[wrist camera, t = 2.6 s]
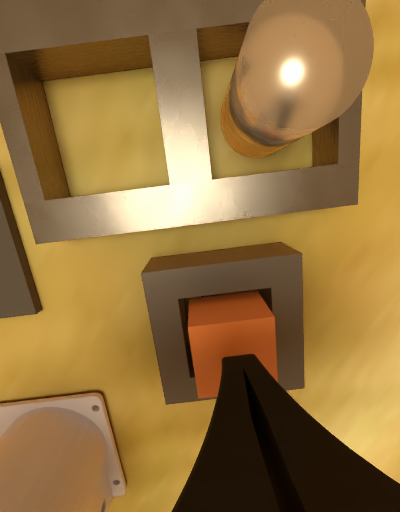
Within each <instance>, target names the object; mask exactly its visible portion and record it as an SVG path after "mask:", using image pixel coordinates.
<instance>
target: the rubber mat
mask: <svg viewBox="0 0 400 512" xmlns="http://www.w3.org/2000/svg"><path fill="white" fill-rule="evenodd" d="M41 310H42V307H41V304H40V301H39V297H38V294H37V291H36V288H35V284H34V281H33V278H32V275H31V271H30V268H29V265H28V262H27V258H26V255H25V252H24V248H23V245H22V242H21V239H20V235H19V232H18V229H17V226H16V222H15V219H14V216H13V213H12V209H11V206H10V203H9V200H8V196H7V193H6V190H5V187H4V183H3V180H2V177H1V173H0V318H8V317H16V316H24V315H33V314H37V313H38V312H40V311H41Z"/></svg>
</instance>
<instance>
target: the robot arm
mask: <svg viewBox="0 0 400 512" xmlns="http://www.w3.org/2000/svg"><path fill="white" fill-rule="evenodd" d="M221 361H222V372H221V380H220V386H219V391H218V396H217V400H216V404H215V408H214V411H213V415H212V418H211V422H210V425H209V428H208V431H207V434H206V436H205V439H204V442H203V445H202V447H201V450H200V452H199V455H198V457H197V459H196V462H195V464H194V467H193V469H192V471H191V473H190V476H189V478H188V480H187V482H186V484H185V486H184V488H183V490H182V492H181V494H180V496H179V498H178V500H177V502H176V504H175V506H174V508H173V510H172V512H400V484H399V483H398V482H396V481H395V480H393V479H392V478H390V477H389V476H387V475H386V474H384V473H383V472H382V471H380V470H379V469H377V468H376V467H375V466H373V465H372V464H370V463H369V462H368V461H366V460H365V459H364V458H362V457H361V456H359V455H358V454H357V453H355V452H354V451H353V450H351V449H350V448H349V447H347V446H346V445H345V444H344V443H342V442H341V441H340V440H339V439H337V438H336V437H335V436H334V435H332V434H331V433H330V432H329V431H328V430H327V429H325V428H324V427H323V426H322V425H321V424H320V423H318V422H317V421H316V420H315V419H314V418H313V417H312V416H311V415H310V414H308V413H307V412H306V411H305V410H304V409H303V408H302V407H301V406H300V405H299V404H298V403H297V402H296V401H295V400H294V399H293V398H292V397H291V396H290V395H289V394H288V393H287V392H286V391H285V390H284V389H283V387H282V386H281V385H280V384H279V383H278V382H277V381H276V380H275V379H274V378H273V376H272V375H271V374H270V373H269V372H268V370H267V369H266V368H265V367H264V366H263V364H262V363H261V362H260V360H259V359H258V358H257V356H256V355H255V354H246V355H237V356H229V357H224V358H223V359H222V360H221ZM95 405H97V406H99V407H97V406H95ZM126 488H127V486H126V482H125V478H124V475H123V471H122V467H121V463H120V460H119V456H118V452H117V448H116V444H115V441H114V437H113V433H112V429H111V426H110V422H109V418H108V414H107V411H106V407H105V403H104V399H103V396H102V395H101V394H100V393H86V394H78V395H69V396H61V397H53V398H44V399H36V400H27V401H19V402H11V403H2V404H0V512H109V509H110V505H111V501H112V498H113V497H118V496H122V495H124V494H125V492H126Z"/></svg>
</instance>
